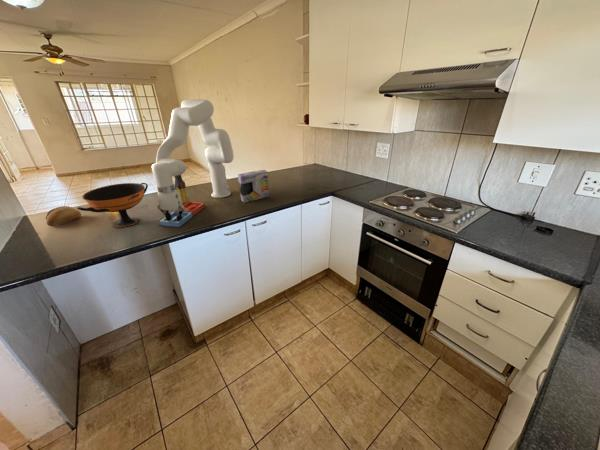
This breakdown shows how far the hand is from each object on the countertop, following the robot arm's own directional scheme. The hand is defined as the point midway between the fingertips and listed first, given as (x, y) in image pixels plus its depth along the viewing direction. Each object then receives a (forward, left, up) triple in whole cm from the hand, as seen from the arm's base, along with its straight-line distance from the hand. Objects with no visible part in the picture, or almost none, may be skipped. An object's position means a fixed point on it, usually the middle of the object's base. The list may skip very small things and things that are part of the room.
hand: (174, 220), depth 129 cm
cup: (+5, -25, -1) cm, 25 cm away
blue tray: (-2, 0, -1) cm, 2 cm away
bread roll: (+9, -58, -1) cm, 59 cm away
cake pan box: (-38, +31, -1) cm, 49 cm away
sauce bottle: (-24, -10, -1) cm, 26 cm away
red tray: (-16, 0, -1) cm, 16 cm away
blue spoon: (-2, 0, 0) cm, 2 cm away
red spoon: (-16, 0, 0) cm, 16 cm away
